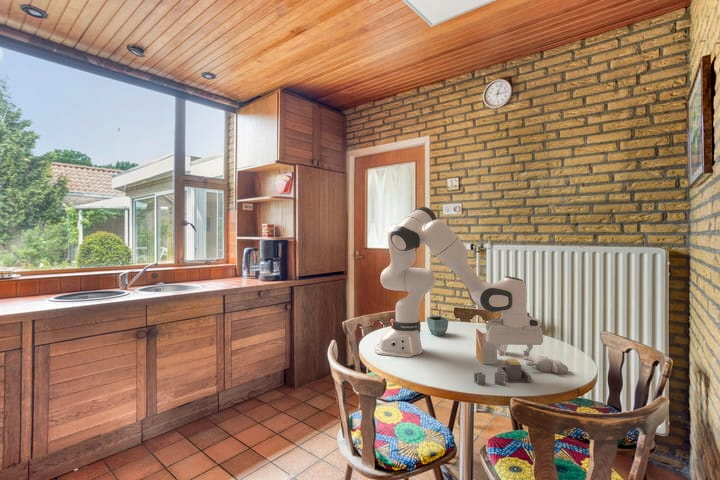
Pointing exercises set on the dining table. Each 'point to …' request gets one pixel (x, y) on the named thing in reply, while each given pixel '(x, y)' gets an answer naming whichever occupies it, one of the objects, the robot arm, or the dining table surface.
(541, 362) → the bunny figurine
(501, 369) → the end holder
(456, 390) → the dining table surface
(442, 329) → the flower pot
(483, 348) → the small box
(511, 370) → the connector
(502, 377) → the clip
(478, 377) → the clip
